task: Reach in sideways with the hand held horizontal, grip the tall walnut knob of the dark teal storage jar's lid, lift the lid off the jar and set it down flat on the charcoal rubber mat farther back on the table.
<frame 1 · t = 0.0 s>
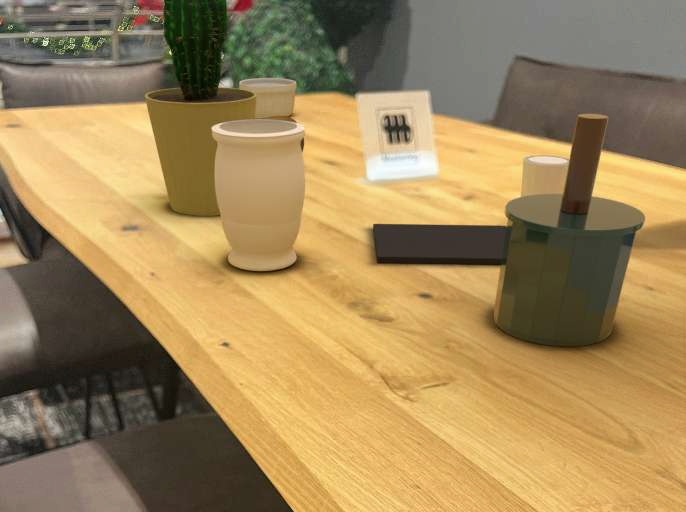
mat: (444, 246, 98), on the table
storage jar: (551, 323, 78), on the table
jar: (262, 262, 93), on the table
beige cylinder: (539, 211, 113), on the table
potted cactus: (209, 206, 114), on the table
tin: (262, 170, 133), on the table
ramekin: (268, 116, 179), on the table
jar lid: (572, 217, 72), point 10 cm above the table, touching storage jar
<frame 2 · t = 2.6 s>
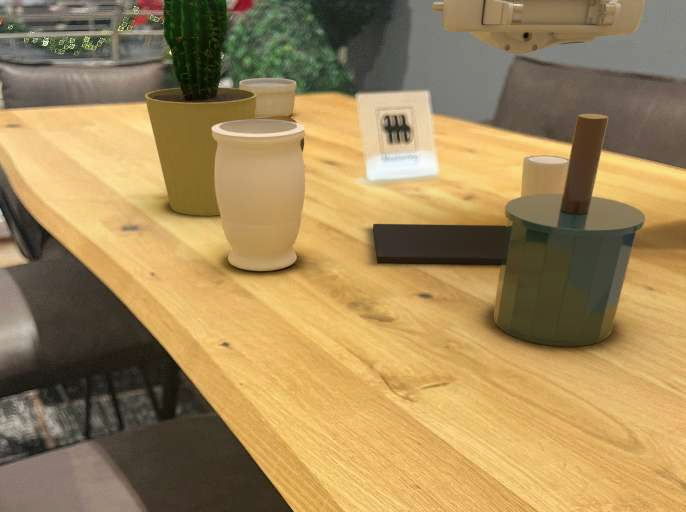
hand: (563, 14, 72), 26 cm above the table, tool horizontal, fingers open, 8 cm apart
nothing on the table moved.
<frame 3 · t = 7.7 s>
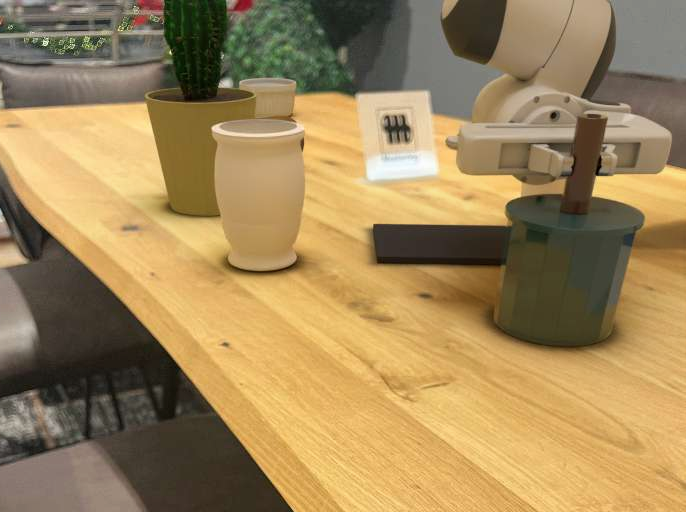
hand: (587, 167, 68), 15 cm above the table, tool horizontal, fingers closed on jar lid, 2 cm apart
jar lid: (572, 217, 72), point 11 cm above the table, touching gripper, storage jar
everything else where it was.
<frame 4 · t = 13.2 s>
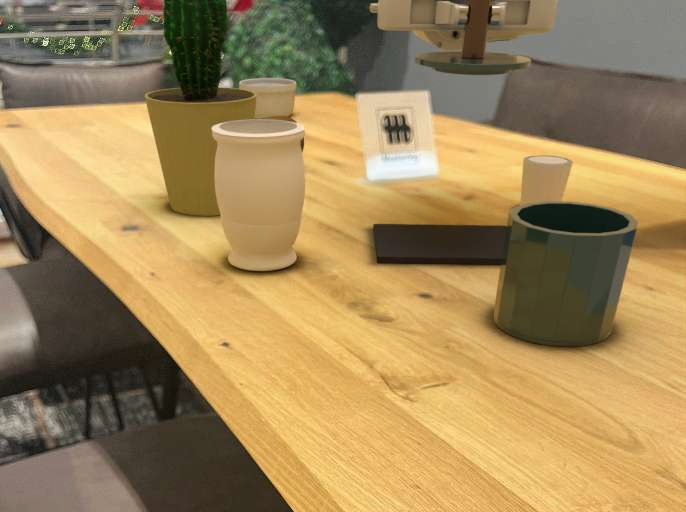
hand: (479, 15, 81), 25 cm above the table, tool horizontal, fingers closed on jar lid, 2 cm apart
jar lid: (472, 63, 84), point 21 cm above the table, touching gripper
everything else where it was.
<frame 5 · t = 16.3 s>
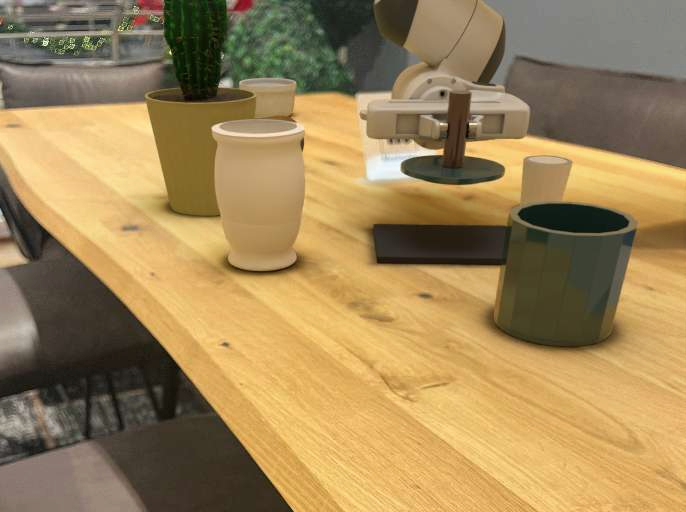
hand: (458, 131, 90), 14 cm above the table, tool horizontal, fingers closed on jar lid, 2 cm apart
jar lid: (451, 171, 93), point 9 cm above the table, touching gripper
everything else where it was.
when the fingers open (6 cm above the table, at t = 18.6 s): jar lid stays where it is, resting on mat.
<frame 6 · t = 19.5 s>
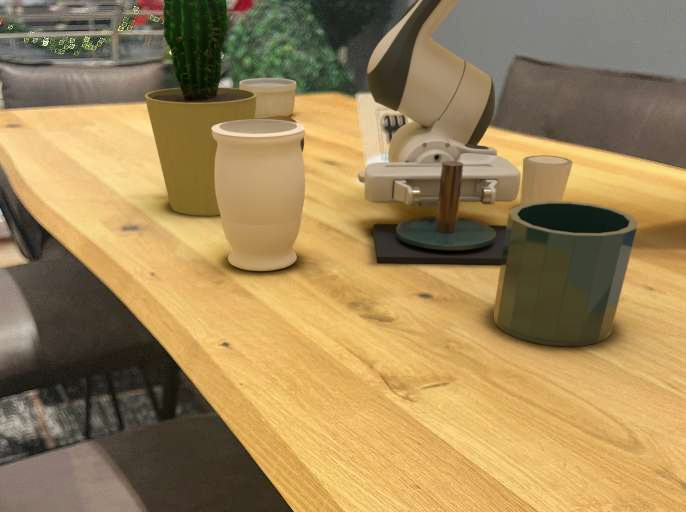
hand: (451, 197, 94), 6 cm above the table, tool horizontal, fingers open, 8 cm apart
jar lid: (445, 235, 97), point 1 cm above the table, touching mat
everything else where it was.
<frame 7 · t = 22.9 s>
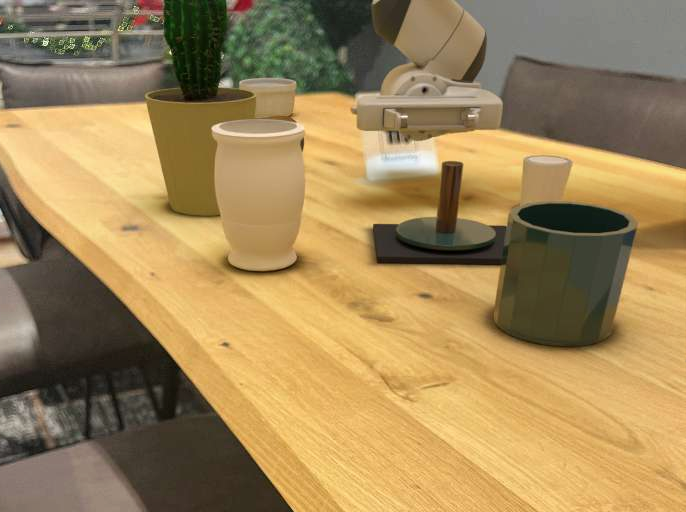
hand: (437, 122, 101), 13 cm above the table, tool horizontal, fingers open, 8 cm apart
nothing on the table moved.
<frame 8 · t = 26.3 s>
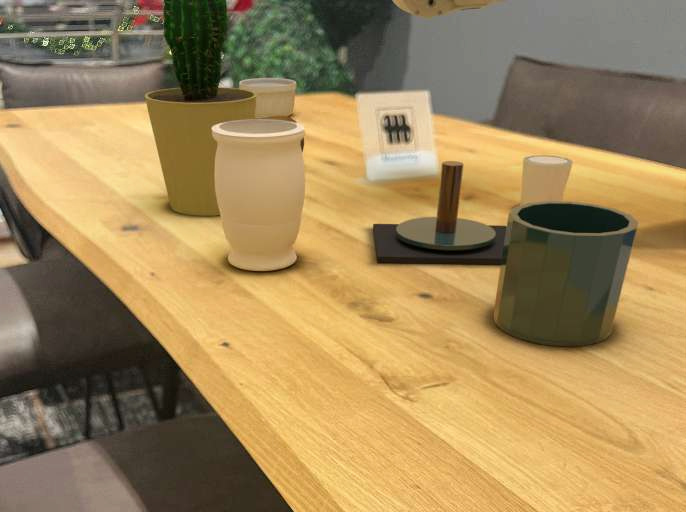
nothing on the table moved.
at the end: jar lid inside the target area on the mat (0.1 cm from its centre), point 1.4 cm above the mat's base; jar lid tilted 0°; the gripper is holding nothing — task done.
